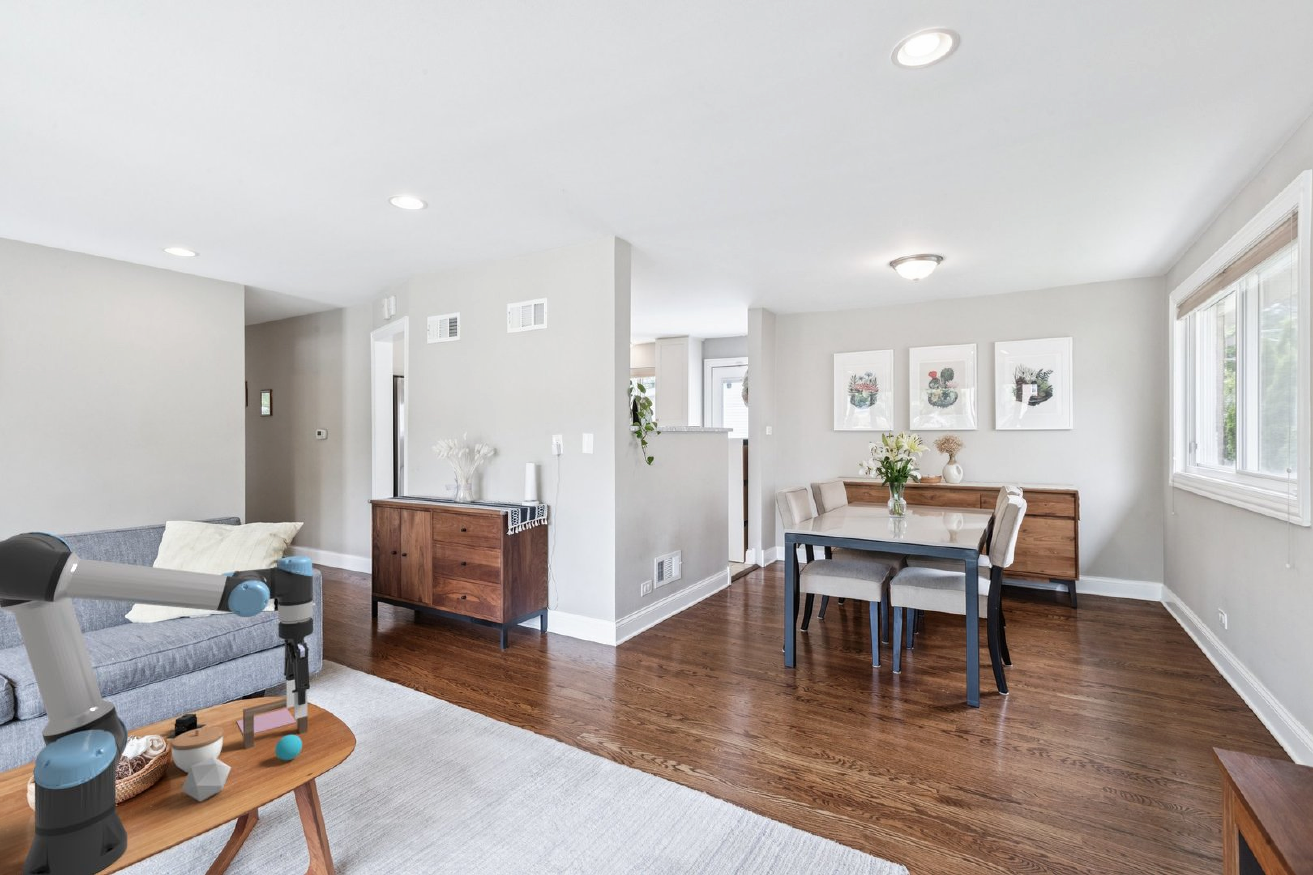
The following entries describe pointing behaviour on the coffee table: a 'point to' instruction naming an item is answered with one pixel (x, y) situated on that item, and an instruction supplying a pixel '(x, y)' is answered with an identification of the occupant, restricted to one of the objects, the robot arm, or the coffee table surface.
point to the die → (206, 778)
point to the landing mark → (270, 720)
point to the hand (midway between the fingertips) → (296, 711)
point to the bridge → (250, 712)
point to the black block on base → (185, 725)
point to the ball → (288, 747)
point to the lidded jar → (196, 746)
